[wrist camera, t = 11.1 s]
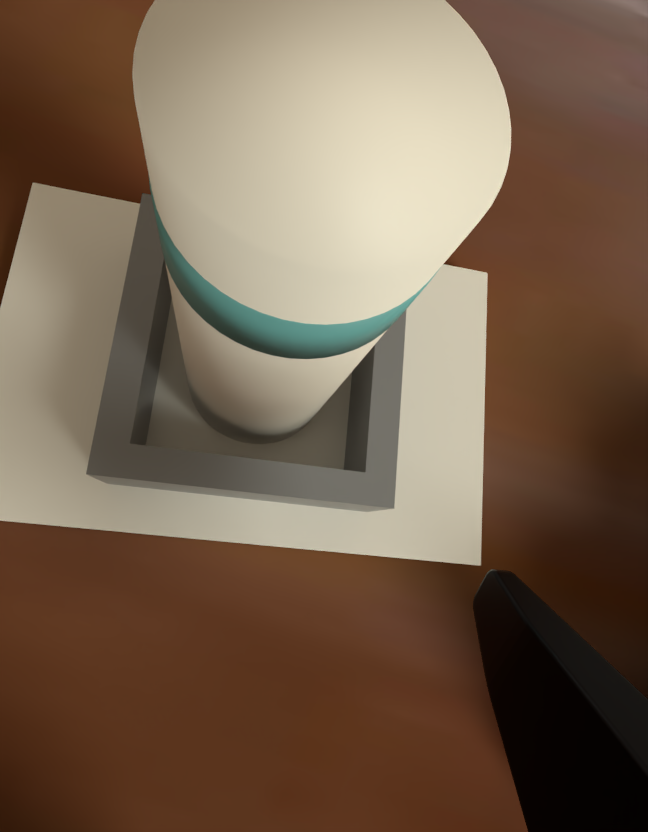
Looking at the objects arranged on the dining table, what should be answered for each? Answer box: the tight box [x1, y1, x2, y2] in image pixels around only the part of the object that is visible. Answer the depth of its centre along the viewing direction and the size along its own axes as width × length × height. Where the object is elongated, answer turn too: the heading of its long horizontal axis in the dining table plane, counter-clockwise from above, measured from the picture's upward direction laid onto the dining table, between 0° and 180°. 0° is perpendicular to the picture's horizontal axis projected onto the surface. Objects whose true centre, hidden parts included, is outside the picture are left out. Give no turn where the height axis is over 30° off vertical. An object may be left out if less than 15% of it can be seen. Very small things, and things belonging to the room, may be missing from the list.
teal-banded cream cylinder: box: [132, 0, 511, 444], centre depth 13 cm, size 5×5×13 cm
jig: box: [0, 183, 487, 566], centre depth 18 cm, size 12×18×4 cm, turn 84°
